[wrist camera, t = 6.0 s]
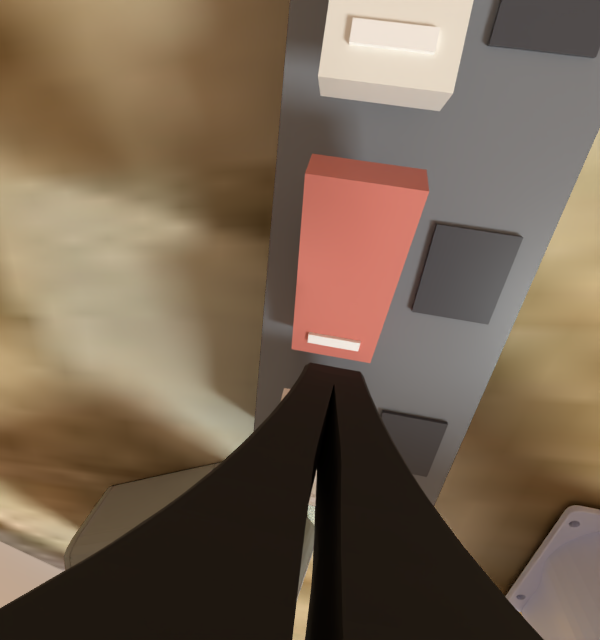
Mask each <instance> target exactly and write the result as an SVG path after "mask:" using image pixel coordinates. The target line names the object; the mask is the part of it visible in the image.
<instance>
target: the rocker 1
mask: <svg viewBox="0 0 600 640" xmlns="http://www.w3.org/2000/svg"><path fill="white" fill-rule="evenodd" d="M473 1H474V0H329V4H328V11H327V17H326V24H325V31H324V38H323V45H322V52H321V58H320V65H319V72H318V81H319V88H320V96H326V97H333V98H341V99H349V100H357V101H364V102H372V103H380V104H387V105H395V106H403V107H410V108H418V109H426V110H434V111H440V110H441V109H442V107H443V106H444V105H445V103H446V102H447V101H448V100H449V98H450V97H451V96H452V94H453V92H454V88H455V83H456V78H457V74H458V69H459V65H460V60H461V56H462V51H463V46H464V42H465V37H466V33H467V28H468V24H469V19H470V15H471V10H472V5H473Z"/></svg>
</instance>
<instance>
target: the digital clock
mask: <svg viewBox="0 0 600 640" xmlns="http://www.w3.org/2000/svg"><path fill="white" fill-rule="evenodd" d="M219 464H220V463H216V464H211V465H207V466H202V467H198V468H193V469H188V470H184V471H179V472H175V473H170V474H166V475H161V476H156V477H152V478H147V479H143V480H138V481H133V482H129V483H124V484H120V485H115V486H111V487H109V488H108V489H107V490H106V492H105V493H104V494H103V496H102V497H101V499H100V500H99V501H98V503H97V504H96V506H95V507H94V508H93V510H92V511H91V513H90V514H89V515H88V517H87V518H86V520H85V521H84V523H83V524H82V525H81V527H80V528H79V530H78V531H77V532H76V534H75V535H74V537H73V538H72V540H71V542H70V544H69V545H68V547H67V549H66V552H65V555H64V564H65V570H67V569H69V568H70V567H72V566H74V565H76V564H77V563H79V562H81V561H82V560H84V559H86V558H88V557H89V556H91V555H93V554H94V553H96V552H97V551H99V550H101V549H102V548H104V547H105V546H107V545H109V544H110V543H112V542H113V541H115V540H116V539H118V538H119V537H121V536H122V535H124V534H125V533H127V532H128V531H130V530H131V529H133V528H134V527H136V526H137V525H139V524H140V523H142V522H143V521H145V520H146V519H148V518H149V517H151V516H152V515H153V514H155V513H156V512H158V511H159V510H161V509H162V508H164V507H165V506H167V505H168V504H169V503H171V502H172V501H173V500H175V499H176V498H178V497H179V496H180V495H182V494H183V493H184V492H186V491H187V490H188V489H189V488H191V487H192V486H193V485H194V484H196V483H197V482H198V481H199V480H201V479H202V478H203V477H204V476H206V475H207V474H208V473H209V472H211V471H212V470H213V469H214V468H215V467H217V466H218V465H219ZM314 527H315V526H314V525H313V523H312V522H311V521H310V520H309V518H307V519H306V527H305V535H304V543H303V551H302V560H301V568H300V576H299V585H298V593H297V599H298V595H299V592H300V589H301V586H302V583H303V580H304V577H305V574H306V571H307V568H308V565H309V562H310V559H311V556H312V553H313V550H314ZM296 602H297V601H296Z"/></svg>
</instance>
